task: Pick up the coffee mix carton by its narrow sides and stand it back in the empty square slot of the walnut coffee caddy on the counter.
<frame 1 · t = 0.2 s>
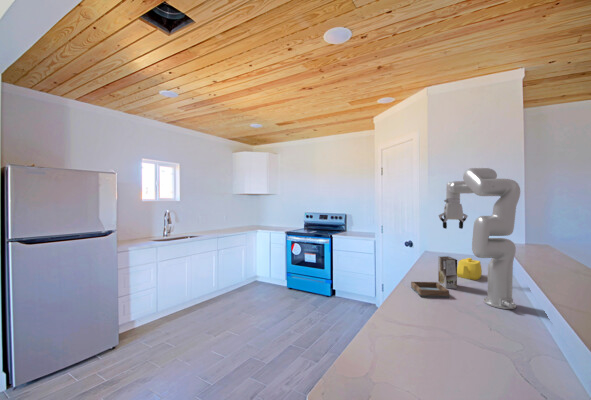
hand: (452, 228, 176), 31 cm above the worktop, fingers open, 9 cm apart
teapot: (468, 277, 176), on the worktop
caddy: (429, 292, 148), on the worktop
coffee box: (447, 286, 159), on the worktop
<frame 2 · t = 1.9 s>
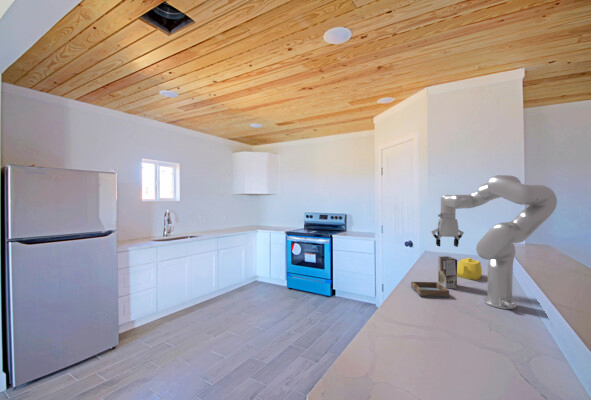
hand: (447, 246, 159), 23 cm above the worktop, fingers open, 9 cm apart
nothing on the worktop moved.
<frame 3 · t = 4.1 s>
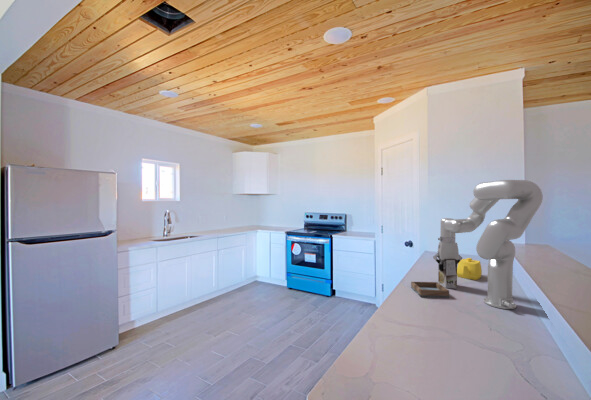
hand: (447, 270, 159), 9 cm above the worktop, fingers closed on coffee box, 6 cm apart
coffee box: (447, 286, 159), on the worktop, touching gripper
everything else where it was.
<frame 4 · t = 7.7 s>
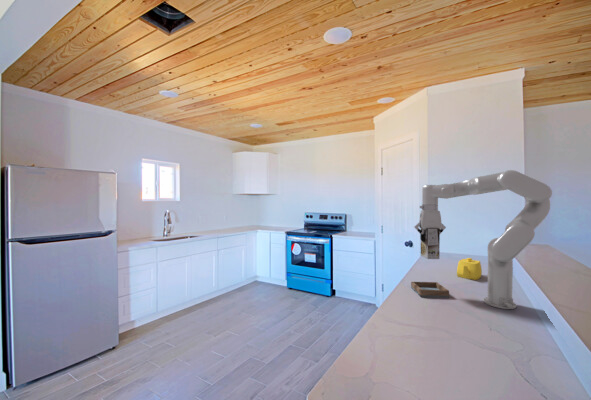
hand: (429, 241, 147), 28 cm above the worktop, fingers closed on coffee box, 6 cm apart
coffee box: (429, 257, 148), point 19 cm above the worktop, touching gripper
everything else where it was.
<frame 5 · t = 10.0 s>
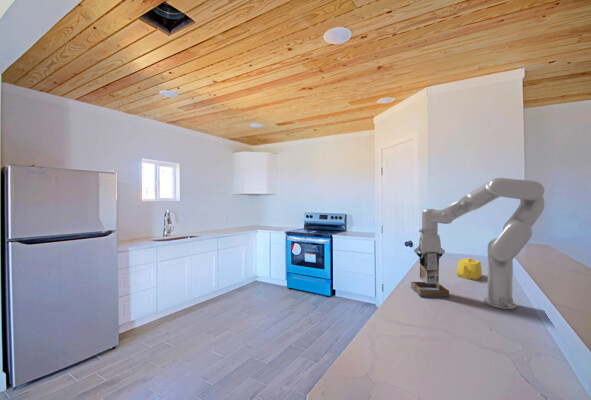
hand: (429, 265, 148), 15 cm above the worktop, fingers closed on coffee box, 6 cm apart
coffee box: (428, 281, 148), point 6 cm above the worktop, touching gripper
everything else where it was.
when the fingers open (12 cm above the worktop, at t = 11.7 s): coffee box drops 2 cm, resting on caddy.
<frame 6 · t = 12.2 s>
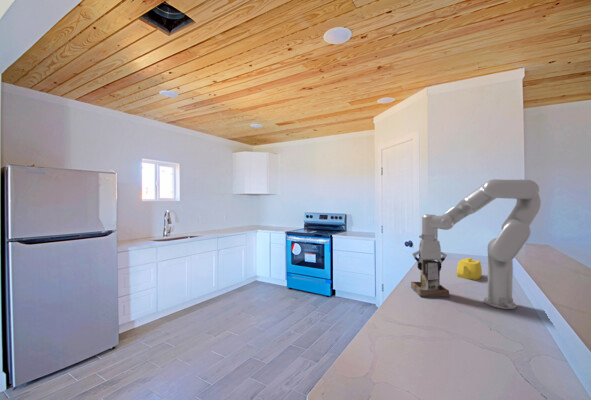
hand: (429, 269, 148), 12 cm above the worktop, fingers open, 9 cm apart
coffee box: (429, 291, 148), point 1 cm above the worktop, touching caddy
everything else where it was.
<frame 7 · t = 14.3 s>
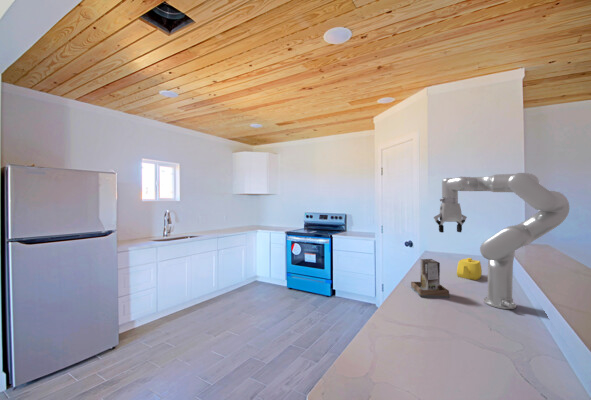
hand: (450, 232, 151), 32 cm above the worktop, fingers open, 9 cm apart
nothing on the worktop moved.
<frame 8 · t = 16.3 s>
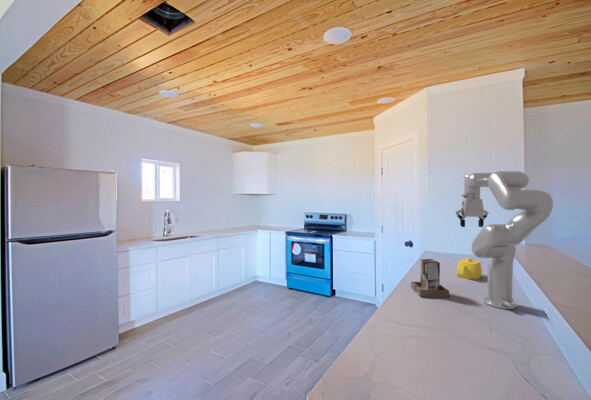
hand: (471, 226, 155), 34 cm above the worktop, fingers open, 9 cm apart
nothing on the worktop moved.
at the end: coffee box 0.3 cm off-centre on the caddy, point 0.8 cm above the caddy's base; coffee box tilted 0°; the gripper is holding nothing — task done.
